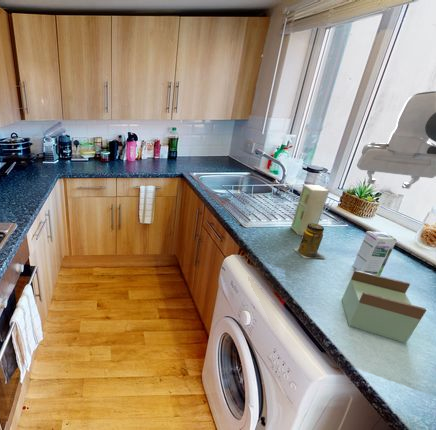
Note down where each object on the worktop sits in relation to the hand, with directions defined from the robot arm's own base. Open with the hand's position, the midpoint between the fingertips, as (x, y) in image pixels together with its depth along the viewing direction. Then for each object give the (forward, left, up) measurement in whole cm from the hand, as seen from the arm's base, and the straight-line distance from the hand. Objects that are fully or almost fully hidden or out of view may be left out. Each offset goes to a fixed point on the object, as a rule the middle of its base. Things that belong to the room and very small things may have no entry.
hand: (387, 185), depth 98 cm
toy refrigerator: (+18, -13, -29) cm, 37 cm away
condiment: (+16, +7, -29) cm, 34 cm away
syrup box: (-1, +10, -29) cm, 31 cm away
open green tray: (+3, +39, -29) cm, 48 cm away
